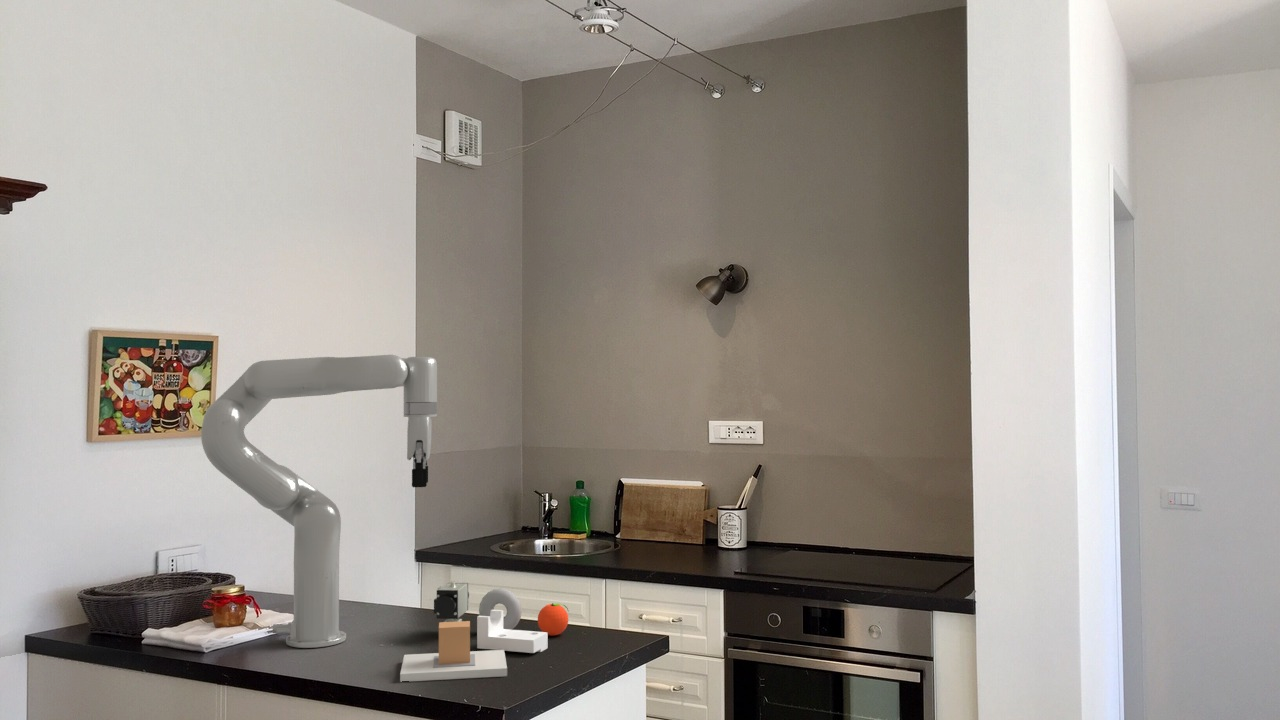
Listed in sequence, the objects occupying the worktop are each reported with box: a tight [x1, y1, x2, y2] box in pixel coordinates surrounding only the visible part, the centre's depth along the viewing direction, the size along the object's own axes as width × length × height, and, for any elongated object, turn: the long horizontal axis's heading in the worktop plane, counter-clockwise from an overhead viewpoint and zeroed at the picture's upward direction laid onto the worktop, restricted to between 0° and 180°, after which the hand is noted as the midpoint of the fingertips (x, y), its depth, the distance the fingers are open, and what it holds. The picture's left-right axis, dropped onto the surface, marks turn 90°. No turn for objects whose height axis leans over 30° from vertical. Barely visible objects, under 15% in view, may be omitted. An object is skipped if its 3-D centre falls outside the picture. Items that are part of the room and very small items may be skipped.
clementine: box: [537, 603, 570, 637], centre depth 224 cm, size 8×7×7 cm
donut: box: [478, 588, 522, 630], centre depth 226 cm, size 10×4×10 cm, turn 78°
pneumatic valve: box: [433, 580, 470, 622], centre depth 224 cm, size 6×12×12 cm, turn 174°
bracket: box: [476, 609, 549, 654], centre depth 212 cm, size 13×7×8 cm, turn 71°
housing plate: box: [399, 649, 508, 683], centre depth 197 cm, size 20×14×5 cm
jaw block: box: [438, 620, 471, 664], centre depth 197 cm, size 6×5×7 cm
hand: (420, 485), depth 229 cm, fingers open, 9 cm apart
